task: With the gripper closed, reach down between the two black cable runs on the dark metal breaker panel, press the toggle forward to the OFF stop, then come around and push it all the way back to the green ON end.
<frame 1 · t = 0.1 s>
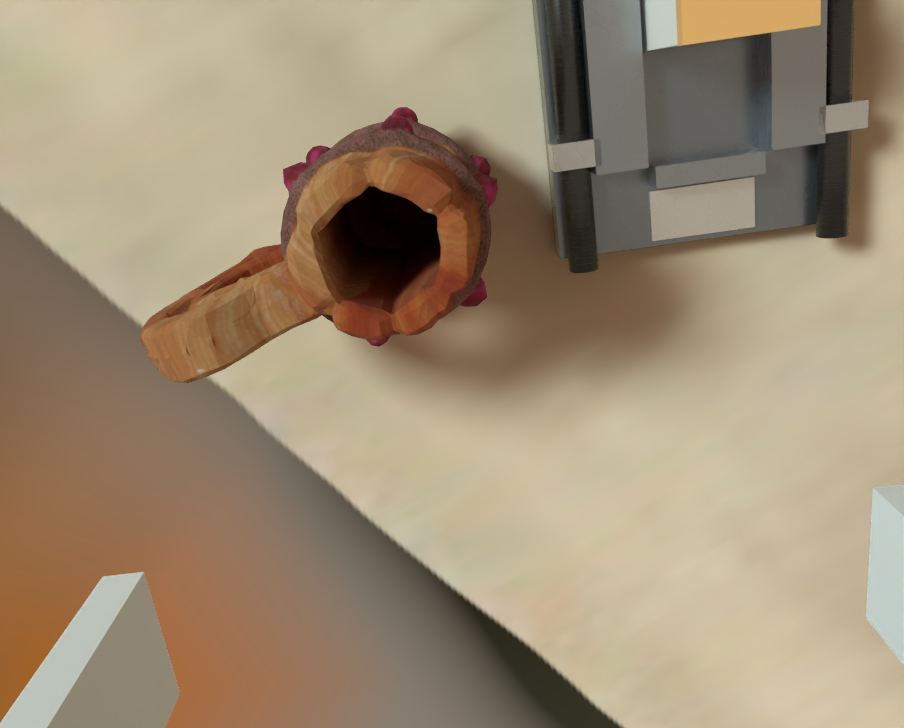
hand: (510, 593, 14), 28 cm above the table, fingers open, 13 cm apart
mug: (354, 221, 40), on the table
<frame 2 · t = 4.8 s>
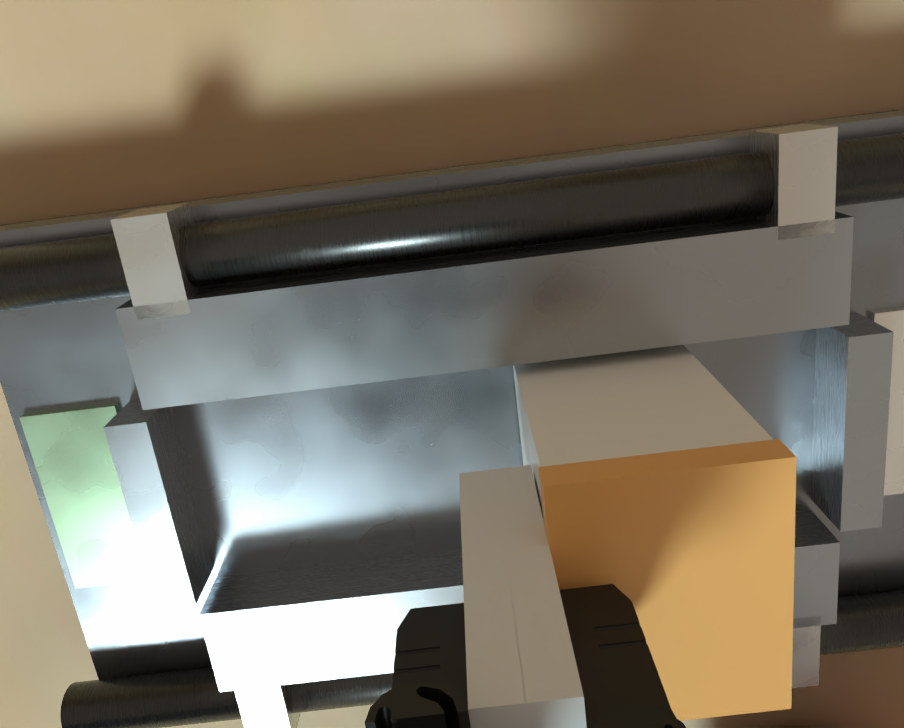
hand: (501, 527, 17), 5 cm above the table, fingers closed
panel: (495, 426, 22), on the table
toggle: (630, 508, 17), point 5 cm above the table, slide at 7.6 cm, touching gripper
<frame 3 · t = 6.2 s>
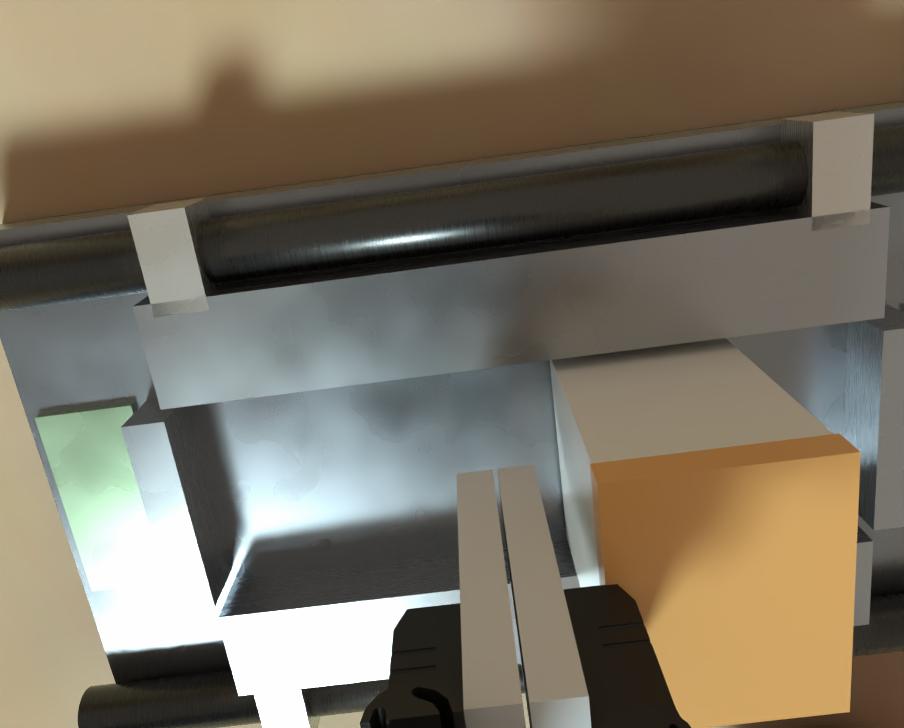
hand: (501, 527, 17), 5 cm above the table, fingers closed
panel: (517, 424, 21), on the table
toggle: (676, 506, 16), point 5 cm above the table, slide at 7.8 cm, touching gripper
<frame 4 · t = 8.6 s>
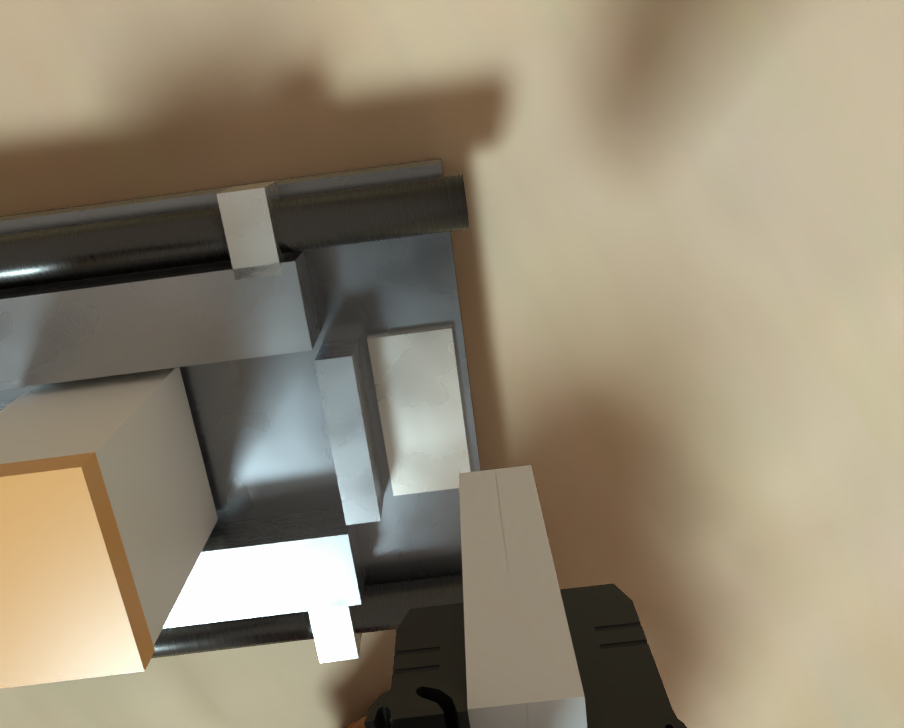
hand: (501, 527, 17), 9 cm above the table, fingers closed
panel: (91, 435, 25), on the table
toggle: (84, 508, 20), point 5 cm above the table, slide at 6.9 cm
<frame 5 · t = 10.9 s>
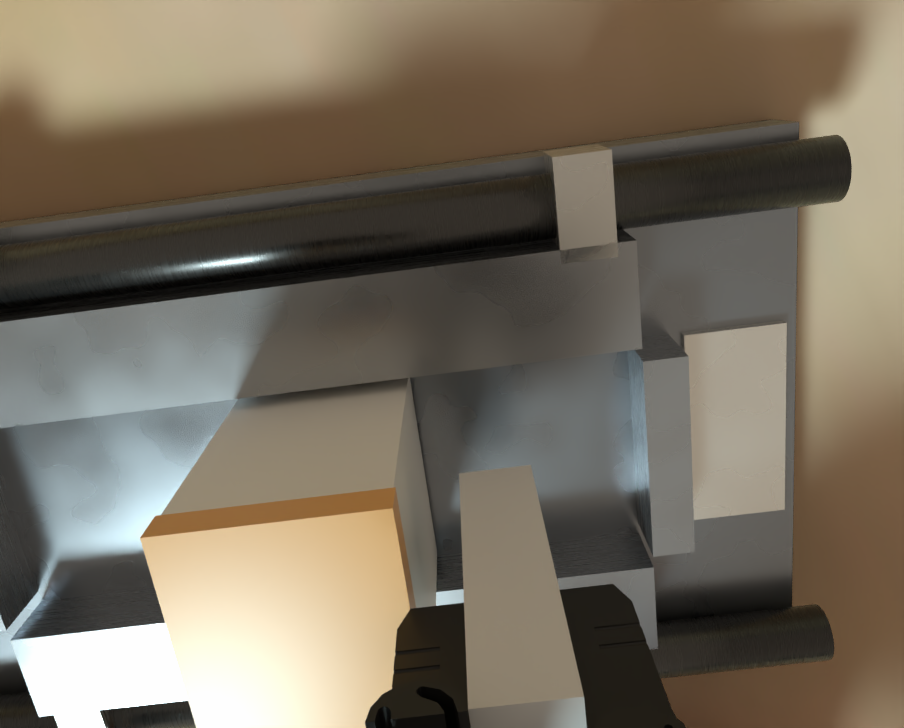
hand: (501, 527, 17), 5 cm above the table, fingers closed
panel: (324, 447, 21), on the table
toggle: (324, 547, 17), point 5 cm above the table, slide at 5.7 cm, touching gripper
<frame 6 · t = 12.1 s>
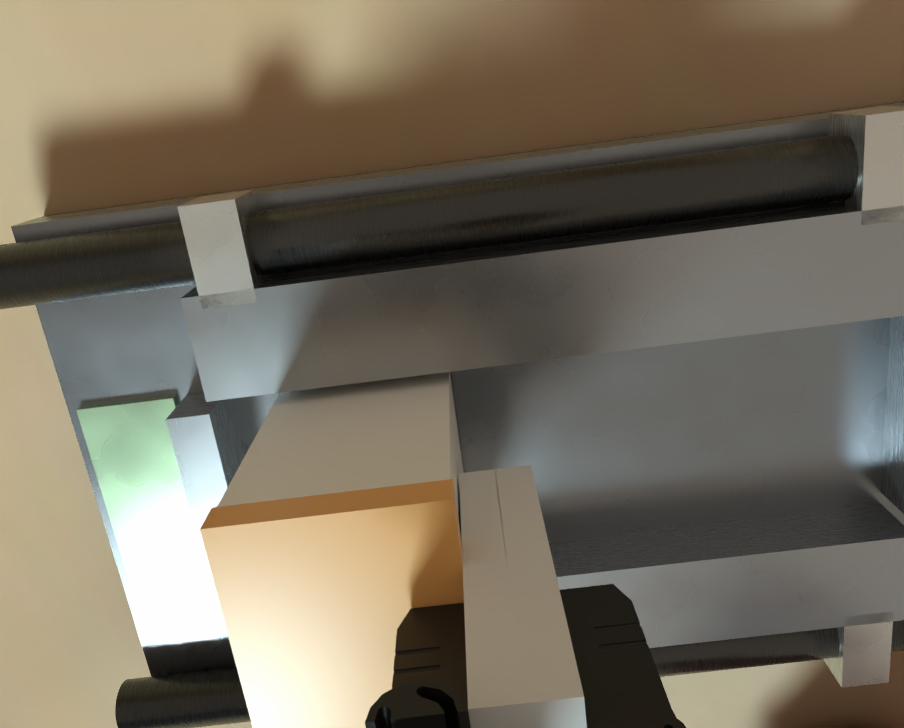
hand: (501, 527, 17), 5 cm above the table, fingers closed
panel: (555, 418, 21), on the table
toggle: (370, 540, 17), point 5 cm above the table, slide at 0.4 cm, touching gripper
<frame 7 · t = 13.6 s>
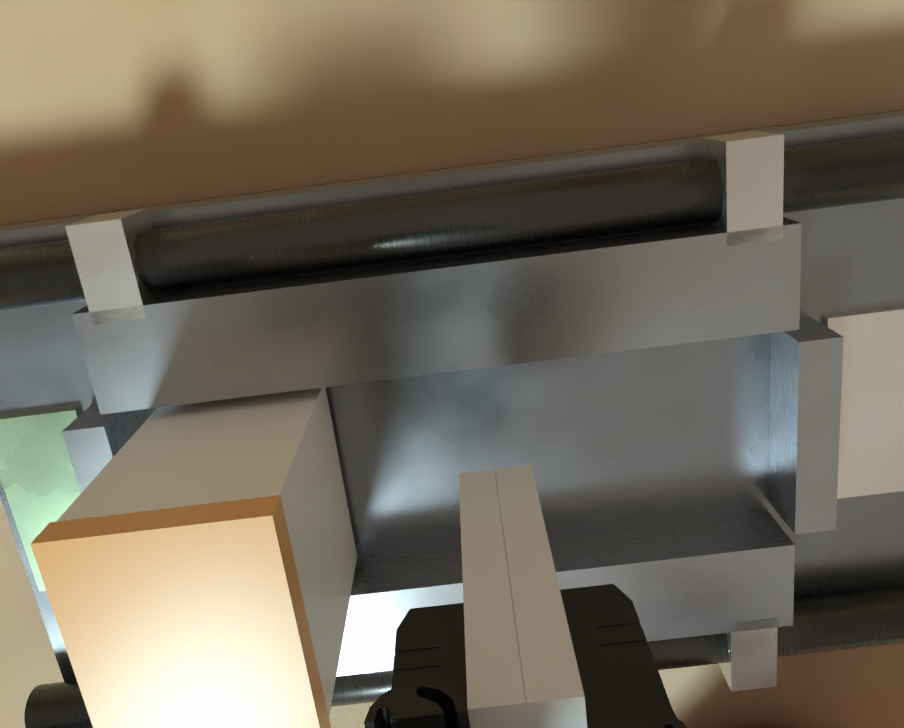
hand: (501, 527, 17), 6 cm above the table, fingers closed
panel: (457, 429, 22), on the table
toggle: (232, 552, 17), point 5 cm above the table, slide at 0.0 cm
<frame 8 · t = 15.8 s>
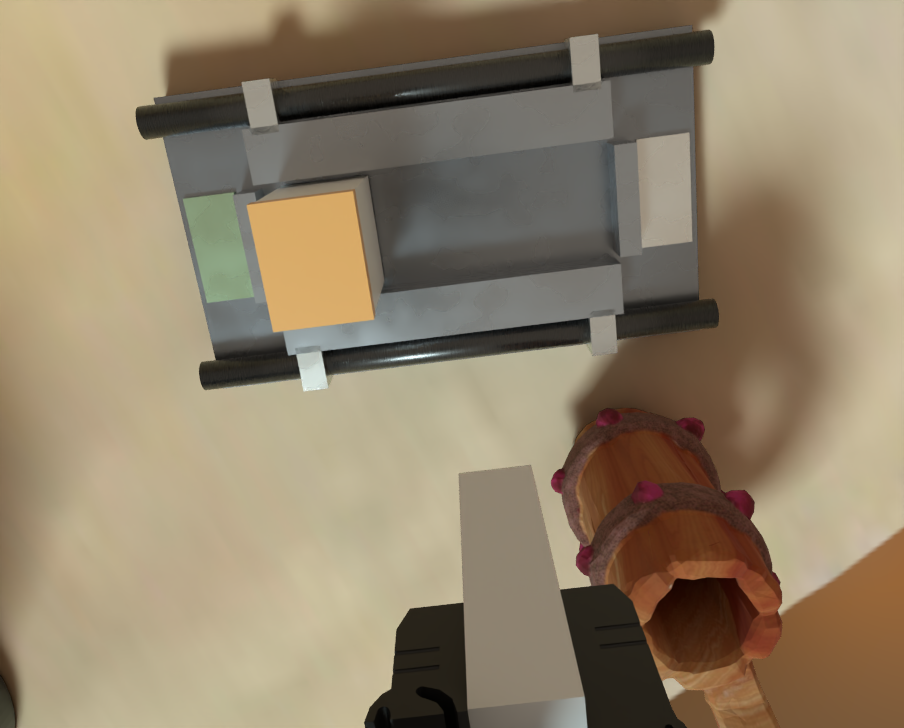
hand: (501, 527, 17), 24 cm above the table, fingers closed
panel: (440, 215, 39), on the table
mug: (640, 498, 44), on the table
toggle: (324, 247, 34), point 5 cm above the table, slide at 0.0 cm
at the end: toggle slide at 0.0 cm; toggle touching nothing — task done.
